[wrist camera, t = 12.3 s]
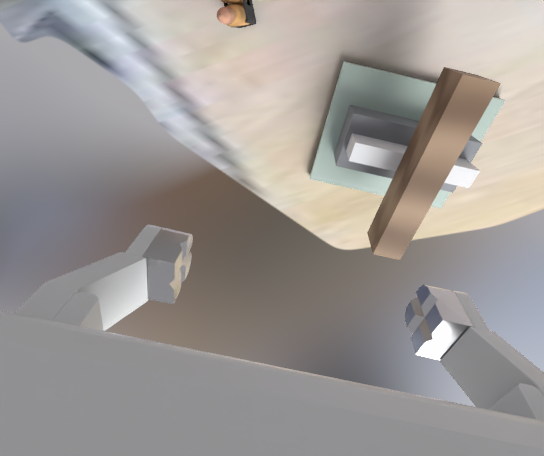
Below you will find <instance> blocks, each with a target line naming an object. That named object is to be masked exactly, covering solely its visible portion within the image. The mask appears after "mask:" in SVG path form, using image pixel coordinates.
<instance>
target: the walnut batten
mask: <svg viewBox="0 0 544 456" xmlns="http://www.w3.org/2000/svg"><path fill="white" fill-rule="evenodd" d="M500 84H501V83H498V82H495V81H492V80H489V79H487V78H484V77H481V76H478V75H475V74H470V73H466V72H462V71H458V70H454V69H450V68H446V67H444V69H443V71H442V73H441V75H440V77H439V79H438V82H437V84H436V86H435V88H434V90H433V92H432V95H431V97H430V99H429V101H428V103H427V105H426V107H425V110H424V112H423V114H422V116H421V118H420V120H419V123H418V125H417V127H416V129H415V131H414V133H413V136H412V138H411V140H410V142H409V144H408V146H407V149H406V151H405V153H404V155H403V157H402V159H401V162H400V164H399V166H398V168H397V170H396V172H395V174H394V177H393V179H392V181H391V183H390V185H389V187H388V190H387V192H386V194H385V196H384V198H383V200H382V203H381V205H380V207H379V209H378V211H377V213H376V216H375V218H374V220H373V222H372V224H371V226H370V229H369V231H368V237H369V240H370V244H371V248H372V252H373V254H375V255H380V256H385V257H389V258H394V259H398V260H400V259H401V257H402V255H403V254H404V252H405V250H406V248H407V247H408V245H409V243H410V241H411V240H412V238H413V236H414V234H415V233H416V231H417V229H418V227H419V226H420V224H421V222H422V220H423V219H424V217H425V215H426V213H427V212H428V210H429V208H430V206H431V205H432V203H433V201H434V199H435V198H436V196H437V194H438V192H439V191H440V189H441V187H442V185H443V184H444V182H445V180H446V178H447V177H448V175H449V173H450V171H451V170H452V168H453V166H454V164H455V163H456V161H457V159H458V157H459V156H460V154H461V152H462V150H463V149H464V147H465V145H466V143H467V142H468V140H469V138H470V136H471V135H472V133H473V131H474V129H475V128H476V126H477V124H478V122H479V121H480V119H481V117H482V115H483V114H484V112H485V110H486V108H487V107H488V105H489V103H490V101H491V100H492V98H493V96H494V94H495V93H496V91H497V89H498V87H499V86H500Z"/></svg>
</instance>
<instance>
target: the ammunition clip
mask: <svg viewBox="0 0 544 456" xmlns="http://www.w3.org/2000/svg"><path fill="white" fill-rule="evenodd" d="M221 1H222V2H224V6H225V7H222V8H220V9H219V10H218V12H217V18H218V20H219V21H220V22H221V23H223V24H227V25H228V26H230V27H237V28H242V27H246V26H250V25H254V24H256V18H255V14H254V9H253V4H252V0H221ZM228 3H229V4H228Z"/></svg>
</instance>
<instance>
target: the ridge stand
mask: <svg viewBox="0 0 544 456" xmlns="http://www.w3.org/2000/svg"><path fill="white" fill-rule="evenodd" d="M436 84H437V83H434V82H430V81H426V80H421V79H417V78H413V77H409V76H405V75H400V74H396V73H392V72H388V71H384V70H380V69H375V68H371V67H367V66H363V65H359V64H354V63H350V62H346V61H343V63H342V67H341V70H340V74H339V77H338V80H337V84H336V87H335V91H334V94H333V98H332V101H331V104H330V108H329V111H328V115H327V118H326V122H325V125H324V128H323V132H322V135H321V139H320V142H319V145H318V149H317V152H316V156H315V159H314V163H313V166H312V169H311V173H310V179H312V180H317V181H321V182H325V183H330V184H334V185H339V186H343V187H348V188H352V189H356V190H361V191H365V192H370V193H374V194H379V195H383V196H385V194H386V192H387V190H388V187H389V185H390V183H391V181H392V179H393V177H394V174H395V172H396V170H397V168H398V166H399V164H400V162H401V159H402V157H403V155H404V153H405V151H406V149H407V146H408V144H409V142H410V140H411V138H412V136H413V133H414V131H415V129H416V127H417V125H418V123H419V120H420V118H421V116H422V114H423V112H424V110H425V107H426V105H427V103H428V101H429V99H430V97H431V95H432V92H433V90H434V88H435V86H436ZM504 101H505V100H503V99H500V98H497V97H493V98H492V100H491V101H490V103H489V105H488V107H487V108H486V110H485V112H484V114H483V115H482V117H481V119H480V121H479V122H478V124H477V126H476V128H475V129H474V131H473V133H472V135H471V136H470V138H469V140H468V142H467V143H466V145H465V147H464V149H463V150H462V152H461V154H460V156H459V157H458V159H457V161H456V163H455V164H454V166H453V168H452V170H451V171H450V173H449V175H448V177H447V178H446V180H445V182H444V184H443V185H442V187H441V189H440V191H439V192H438V194H437V196H436V198H435V199H434V201H433V203H432V205H431V206H432V207H436V208H441V207H442V206H443V204H444V202H445V201H446V199H447V197H448V196H449V194H450V192H452V193H453V191H454V190H455V188H456V186H461V187H465V188H469V187H470V186H471V184H472V183H473V181H474V179H475V178H476V176H477V175H478V173H479V172H480V171H479V170H478V169H477V168H476V167H475V166H474V165H473V164H471V161H472V160H473V158H474V156H475V155H476V153H477V151H478V150H479V148H480V146H481V145H482V143H481V140H482V138H483V137H484V135H485V133H486V132H487V130H488V128H489V127H490V125H491V123H492V122H493V120H494V118H495V117H496V115H497V113H498V112H499V110H500V108H501V107H502V105H503V103H504Z"/></svg>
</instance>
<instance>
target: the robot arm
mask: <svg viewBox="0 0 544 456" xmlns="http://www.w3.org/2000/svg"><path fill="white" fill-rule="evenodd" d="M192 238H193V237H192V235H191V234H187V233H183V232H179V231H175V230H171V229H167V228H162V227H157V226H153V225H147V226H145V228H144V229H143V230H142V231H141V233H140V234H139V235H138V237H137V238H136V239H135V240H134V242H133V243H132V244H131V245H130V247H129V248H128V249H127V251H126V252H125V253H121V252H120V253H117V254H115V255H112V256H110V257H107V258H105V259H102V260H100V261H97V262H95V263H93V264H90V265H87V266H85V267H82V268H80V269H77V270H75V271H72V272H70V273H68V274H65V275H63V276H60V277H58V278H55V279H53V280H50V281H48V282H46V283H44V284H43V285H42V286H41V287H40V288H39V289H38V290H37V291H36V292H35V293H34V294H33V295H32V296H31V297H30V298H29V299H28V300H27V301H26V302H25V303H24V304H23V305H22V306H21V307H20V308H19V309H18V310H17V311H16V312H15V313H12V312H7V311H2V310H0V456H544V372H542V371H541V370H540V369H539V368H538V367H536V366H535V365H534V364H533V363H532V362H530V361H529V360H528V359H527V358H525V357H524V356H523V355H522V354H521V353H519V352H518V351H517V350H516V349H514V348H513V347H512V346H511V345H510V344H508V343H507V342H506V341H505V340H504V339H502V338H501V337H500V336H499V335H497V334H496V333H495V332H493V331H490V330H489V329H488V327H487V325H486V323H485V322H484V320H483V318H482V317H481V315H480V313H479V311H478V310H477V308H476V306H475V305H474V303H473V301H472V299H471V298H470V296H469V295H468V294H466V293H463V292H458V291H453V290H451V291H450V290H446V289H441V288H436V287H432V286H427V285H422V286H421V287H419V288H418V290H417V291H416V295H417V298H415V299H413V300H411V301H410V302H409V304H408V305H407V307H406V311H405V322H406V325H407V327H408V328H409V330H410V331H411V332H412V333H413V334H412V336H411V341H412V344H413V347H414V350H415V353H416V355H420V356H425V357H429V358H433V359H437V360H440V362H441V363H442V365H443V366H444V367H445V369H446V370H447V371H448V372H449V374H450V375H451V376H452V377H453V379H454V380H455V381H456V382H457V384H458V385H459V386H460V387H461V388H462V390H463V391H464V392H465V393H466V395H467V396H468V397H469V398H470V400H471V401H472V402H473V403H474V405H475V406H476V407H473V406H467V405H463V404H458V403H453V402H448V401H443V400H439V399H434V398H429V397H424V396H419V395H414V394H409V393H404V392H399V391H395V390H389V389H385V388H380V387H375V386H370V385H365V384H360V383H355V382H351V381H345V380H341V379H336V378H331V377H326V376H321V375H316V374H311V373H306V372H301V371H297V370H291V369H287V368H282V367H277V366H272V365H267V364H262V363H257V362H253V361H248V360H243V359H238V358H233V357H228V356H223V355H218V354H213V353H208V352H203V351H199V350H194V349H189V348H184V347H179V346H174V345H169V344H164V343H159V342H154V341H150V340H144V339H140V338H135V337H130V336H125V335H120V334H115V333H110V332H105V330H106V329H108V328H109V327H111V326H112V325H114V324H115V323H117V322H118V321H119V320H121V319H122V318H124V317H125V316H127V315H128V314H130V313H131V312H132V311H134V310H135V309H137V308H138V307H140V306H141V305H142V304H144V303H145V302H147V301H148V299H149V300H154V301H160V302H165V303H171V304H174V302H175V300H176V298H177V296H178V294H179V292H180V289H181V282H182V281H184V280H185V279H186V276H187V274H188V271H189V268H190V263H191V256H192V254H191V252H190V251H189V250H190V247H191V246H192Z"/></svg>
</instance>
